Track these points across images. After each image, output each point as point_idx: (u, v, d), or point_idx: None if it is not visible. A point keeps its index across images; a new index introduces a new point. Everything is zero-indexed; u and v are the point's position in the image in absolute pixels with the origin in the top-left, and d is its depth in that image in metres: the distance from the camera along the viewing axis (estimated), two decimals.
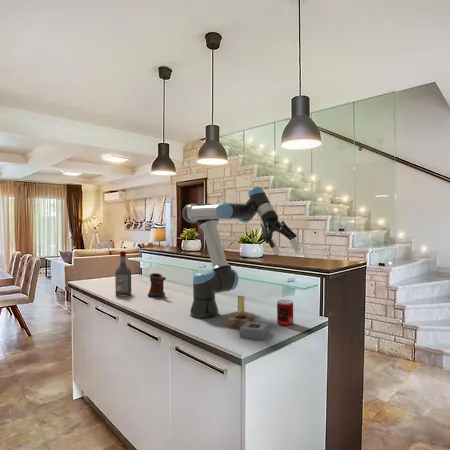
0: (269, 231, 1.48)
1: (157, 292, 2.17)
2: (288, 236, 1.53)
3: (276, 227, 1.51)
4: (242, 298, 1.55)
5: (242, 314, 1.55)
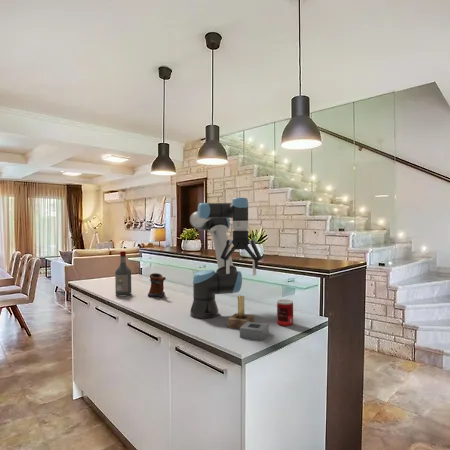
0: None
1: (157, 292, 2.17)
2: None
3: (239, 247, 1.55)
4: (242, 298, 1.55)
5: (242, 314, 1.55)
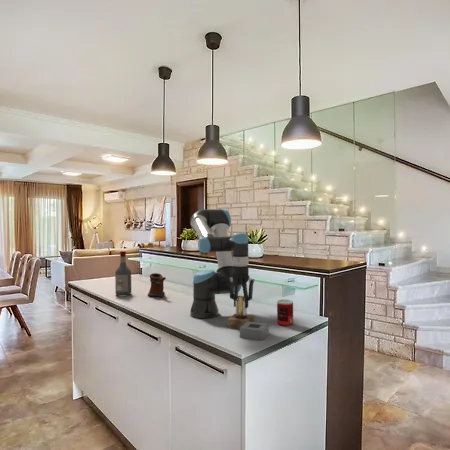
0: None
1: (157, 292, 2.17)
2: None
3: (239, 282, 1.55)
4: (242, 298, 1.55)
5: (242, 314, 1.55)
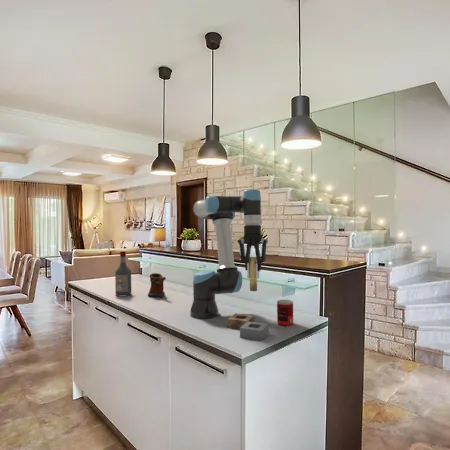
0: None
1: (157, 292, 2.17)
2: None
3: (251, 243, 1.43)
4: (254, 260, 1.42)
5: (254, 278, 1.42)
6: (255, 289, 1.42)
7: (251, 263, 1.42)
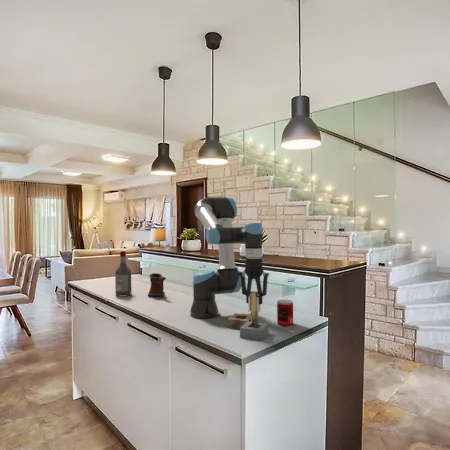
0: None
1: (157, 292, 2.17)
2: None
3: (252, 277, 1.42)
4: (255, 294, 1.42)
5: (255, 311, 1.41)
6: (256, 322, 1.42)
7: (252, 296, 1.42)
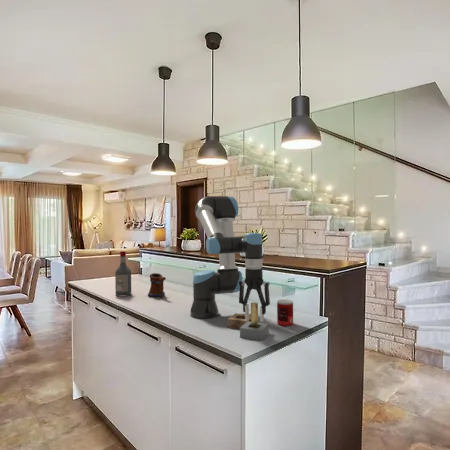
0: None
1: (157, 292, 2.17)
2: None
3: (252, 287, 1.42)
4: (256, 305, 1.42)
5: (256, 323, 1.42)
6: None
7: (252, 308, 1.42)
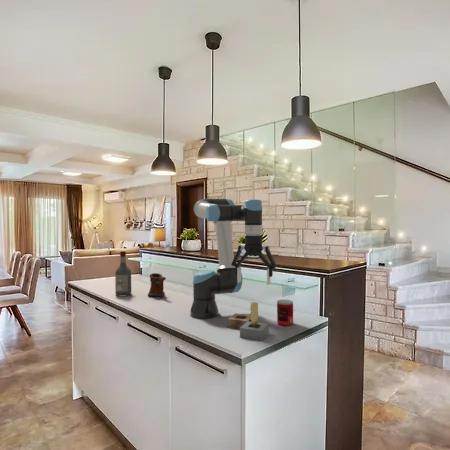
0: None
1: (157, 292, 2.17)
2: None
3: (252, 254, 1.42)
4: (256, 305, 1.42)
5: (256, 323, 1.42)
6: None
7: (252, 308, 1.42)
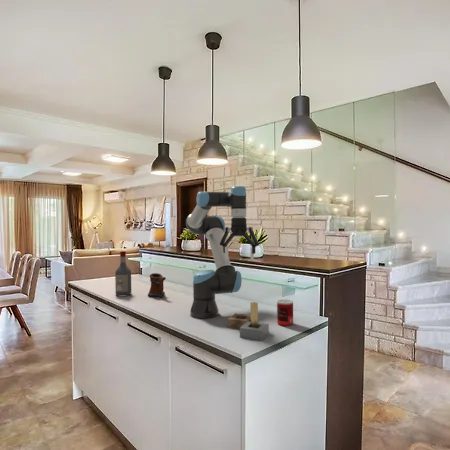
0: None
1: (157, 292, 2.17)
2: None
3: (237, 234, 1.62)
4: (255, 305, 1.42)
5: (255, 323, 1.42)
6: None
7: (252, 308, 1.42)
